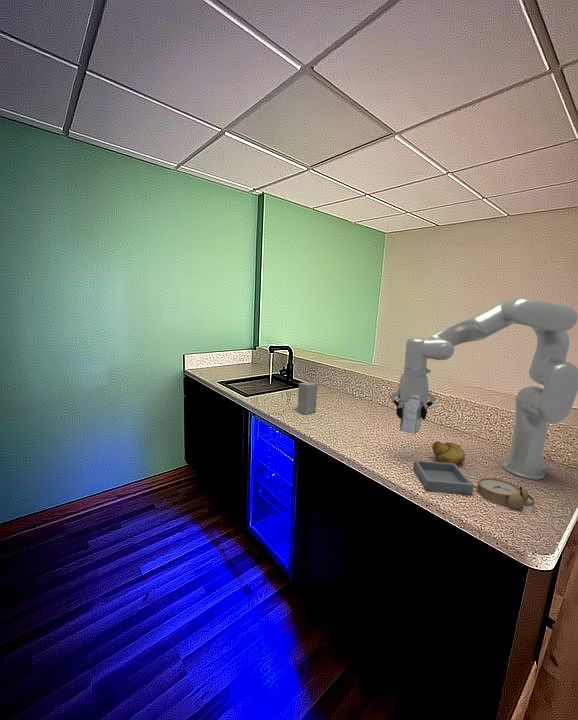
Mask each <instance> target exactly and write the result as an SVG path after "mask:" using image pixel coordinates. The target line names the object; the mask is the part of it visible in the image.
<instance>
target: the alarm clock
mask: <svg viewBox="0 0 578 720" xmlns="http://www.w3.org/2000/svg"><path fill="white" fill-rule="evenodd" d="M473 489H477V492H478V494H479V495H480V496H481V497H482V498H484V499H485V500H488V501H490V502H493V503H495V504H499V505H503V506H504V505H505V506H508V507H509V508H511V509H513V510H519V509H520V508H522V506H523V507H533V506H535V503H536V501H535V499H534V497H532V496H531V495H530V494H529V492H528V490H527V489H526V488H525V487H523V486H519V487H518V486H517V485H515V484H513V483H512V482H510V481H507V480H504V479H501V478H495V477H494V478H493V477H481V478H479V479H478V481H477V486H474V487H473ZM528 499H529V500H530V501H531V502H528Z"/></svg>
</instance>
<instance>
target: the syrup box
mask: <svg viewBox="0 0 578 720" xmlns="http://www.w3.org/2000/svg"><path fill="white" fill-rule="evenodd" d="M422 406H423V405H422V403H420V396H417V395H411V396H410V399H409V401H408V402H405V403H404V404H403V405H402V406H401V408H402V418H401V419H400V423H399V424H400V425H399V431H401V432H404V433H408V434H409V433H410V434H412V435H415V434H417V433H418V432H420V429H421V424H422V423H421V421H422V418H421V413H422Z"/></svg>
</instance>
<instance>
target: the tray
mask: <svg viewBox="0 0 578 720" xmlns="http://www.w3.org/2000/svg"><path fill="white" fill-rule="evenodd" d="M412 469H413V471H414V473H415V475H416V477H417V478H418V479H419V482H420V483H421V485H422V487H423V489H424V490H425V491H426V492H431V493H441V494H453V495H462V496H473V492H474V487H475V486H474V484H473V482H472V481H471V480H470V479H469V478H468V477H467V476H466V474H464V472H463V471H462V470H461V469H460V468H459V467H458V465H456V464H453V463H442V462H438V461H429V460H428V461H427V460H416V459H414V460H413V468H412Z"/></svg>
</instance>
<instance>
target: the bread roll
mask: <svg viewBox="0 0 578 720" xmlns="http://www.w3.org/2000/svg"><path fill="white" fill-rule="evenodd" d="M431 448H432V452H433V454H434V455H435V460H436V462H442V463H453V464H456V466H459V465H461V464H462V463H464V461H465V458H466V453H465V451H464V448H462V447H461V445H459V444H457V443H454V442H453V443H452V442H444V443H443V442H441V441H439V440H438V441H434V442H433V443H432V447H431Z"/></svg>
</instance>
